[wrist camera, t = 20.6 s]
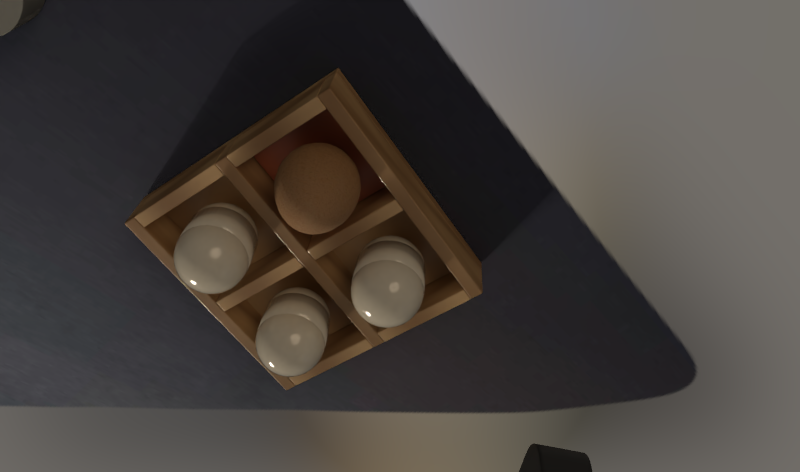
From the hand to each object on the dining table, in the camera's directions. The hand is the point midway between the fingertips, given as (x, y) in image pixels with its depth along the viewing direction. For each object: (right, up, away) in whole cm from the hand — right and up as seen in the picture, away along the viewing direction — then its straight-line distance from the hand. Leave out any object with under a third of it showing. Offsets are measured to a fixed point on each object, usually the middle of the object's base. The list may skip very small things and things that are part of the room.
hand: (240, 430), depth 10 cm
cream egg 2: (-4, -1, +36) cm, 36 cm away
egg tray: (-3, +3, +34) cm, 34 cm away
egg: (-2, +7, +31) cm, 31 cm away
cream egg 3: (+2, +2, +33) cm, 33 cm away
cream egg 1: (-8, +4, +33) cm, 34 cm away
